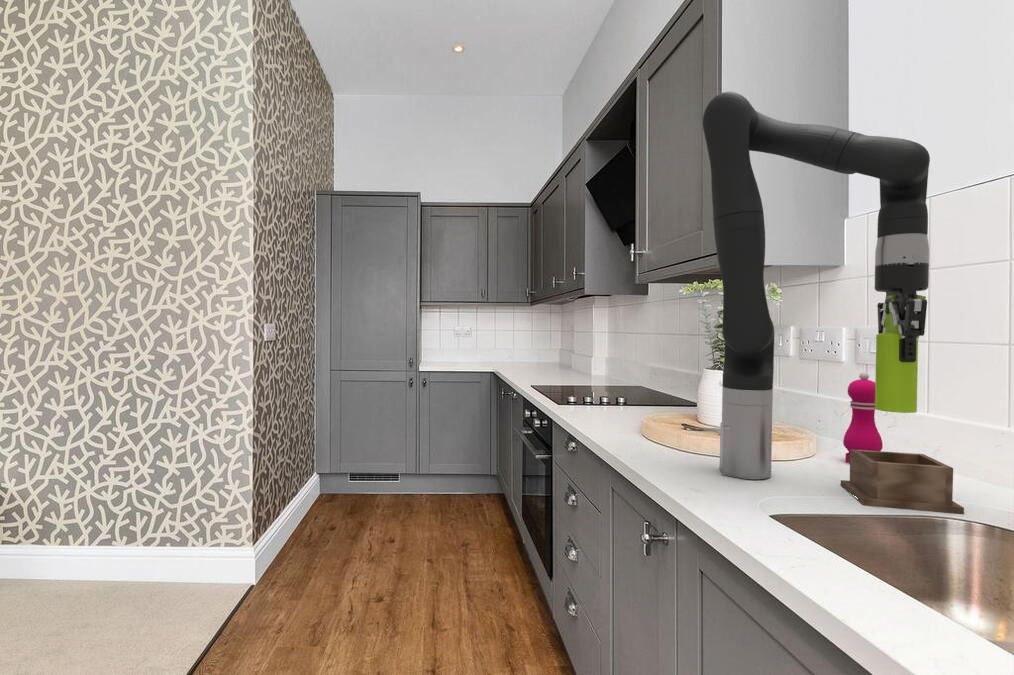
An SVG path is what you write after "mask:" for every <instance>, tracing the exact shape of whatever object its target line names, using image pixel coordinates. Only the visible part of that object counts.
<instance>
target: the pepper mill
mask: <svg viewBox="0 0 1014 675" xmlns="http://www.w3.org/2000/svg"><path fill="white" fill-rule="evenodd" d="M858 377H859V379H855V380H853V381H851V382H850V383H849V385H848V386H847V394H848V395H847V396H848V397H849V398H850V399H851V401H849V403H850V405H849V407H850V408H851V409H852V410H851V412H852V415H851V421H850V424H849V426H848V428H847V430H846V431H845V434H844V436H843V441H842V442H843V446H844V448H845V449H846V450H847V452H846V453H845V459H844V460H845V462H846V463H847V464H849V465H850V449H853V450H868V451H883V447H884V446H883V440H882V437H881V434H880V432H879V431H878V427H877V426H876V420H875V415H876V414H875V412H876V409H875V381H873V380H871V379H869V378H870V374H868V372H865V371H864V372H863V371H862V372H860V374H859V376H858Z"/></svg>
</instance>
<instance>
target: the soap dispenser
mask: <svg viewBox="0 0 1014 675" xmlns="http://www.w3.org/2000/svg"><path fill="white" fill-rule="evenodd" d="M917 298H918V299H927V296H924V295H920V294H917ZM885 299H892V302H894V299H895V295H890V296H886V295H885ZM885 332H886V333H880V334H879V333H877V334H876V338H875V381H874V382H875V411H876V410H877V411H881V412H889V413H903V414H911V413H912V414H913V413H914V414H915V413H917V412H918V409H917V408H918V372H919V371H918V369H919V368H918V365H919V363H918V362H919V360H918V359H919V339H916V361H915V362H900V361H899V340H903V339H900V337H899V332H898V328H896V327H895V326H894V323H893V317H892V313H891V312H889V314H886V315H885Z"/></svg>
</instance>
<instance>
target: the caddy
mask: <svg viewBox="0 0 1014 675" xmlns="http://www.w3.org/2000/svg"><path fill="white" fill-rule="evenodd" d="M953 486H954V467H952V466H950V465H947V464H945V463H943V462H941V461H938V460H937V459H934V458H932V457H931V456H929V455H926V454H925V453H915V452H914V453H913V452H911V453H910V452H899V451H898V452H897V451H883V450H881V451H868V450H853V449H850V464H849V480H846V479H845V480H843V479H841V480H840V487H842V488H843V489H844V488H845V489H846V490H847V491H846V490H845V489H844V490H845V491H846V492H848V493H849V492H850V493H851V494H852V495H854V496H856V497H857V498H858V500H857V502H859V503H860V504H861V505H862V506H870V507H872V506H873V507H880V508H881V507H882V508H892V509H902V510H903V509H904V510H915V511H926V512H938V513H949V514H960V515H964V514H965V507H964V506H962V505H960V504H958V503H957V502H955V501H953V494H954V493H953V491H954V489H953V488H954V487H953ZM850 493H849V494H850ZM851 494H850V495H851ZM852 495H851V496H852Z"/></svg>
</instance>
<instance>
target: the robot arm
mask: <svg viewBox="0 0 1014 675" xmlns="http://www.w3.org/2000/svg"><path fill="white" fill-rule="evenodd" d="M702 116H703V117H702V128H703V135H704V138H705V143H706V149H707V153H708V160H709V164H710V175H711V176H710V177H711V199H712V200H711V201H712V202H711V203H712V217H713V218H712V221H713V232H714V233H713V234H714V242H715V248H716V250H715V251H716V255H717V261H718V267H719V270H720V275H721V281H722V290H723V291H722V292H723V294H722V295H723V298H722V300H723V301H722V302H723V304H722V305H723V309H722V325H721V326H722V329H721V333H722V338H723V340H724V356H723V357H724V358H723V359H724V361H723V362H724V363H723V369H722V370H723V371H722V384H721V385H722V387H721V388H722V390H721V391H722V392H721V393H722V396H721V397H722V398H721V422H720V424H719V426H720V427H719V435H720V436H719V470H720V472H721V475H722V476H729V477H734V478H739V479H744V480H745V479H747V480H766V479H770V478H771V477H772V450H773V449H772V445H773V443H772V442H773V398H774V372H775V371H774V370H775V368H774V367H775V366H774V365H775V364H774V361H775V359H774V358H775V326H774V323H773V320H772V318H771V314H770V310H769V306H768V301H767V296H766V290H765V281H764V280H765V279H764V276H765V275H764V271H765V261H766V260H765V258H766V227H765V226H766V225H765V216H764V207H763V202H762V198H761V193H760V190H759V186H758V183H757V180H756V177H755V173H754V170H753V167H752V164H751V163H752V162H751V156H750V151H751V152H758V153H765V154H770V155H775V156H778V157H779V156H780V157H783V158H788V159H791V160H794V161H799V162H801V163H804V164H808V165H811V166H814V167H818V168H821V169H824V170H825V169H826V170H829V171H832V172H834V173H835V172H837V173H839V174H845V175H854V174H860V175H864V176H868V177H871V178H875V179H879V204H880V208H879V211H878V215H877V228H876V229H877V232H876V233H877V234H876V236H877V237H876V238H877V240H876V247H875V252H874V253H875V254H874V290H875V292H880V293H886V294H885V297H886V296H890V295H895V299H894V302H892V299H886V298H885V299H884V302H878V303H877V304H876V307H877V326H878V327H877V332H878V333H877V334H880V333H886V332H885V315H886V314H889V312H891V313H892V317H893V323H894V326H895V327H896V328H898V332H899V337H900V339H903V340H899V361H900V362H915V361H916V339H918V340H919V339H920V337H923V336H925V333H926V332H925V331H926V329H925V328H926V319H927V318H926V317H927V308H928V300H927V298H925V299H918V298H917V295H918V294H917V292H922V291H926V290H928V289H929V277H930V276H929V274H930V271H929V270H930V244H929V236H928V234H929V212H928V207H927V206H928V205H927V194H928V184H929V183H928V181H929V180H928V179H929V169H930V163H931V162H930V161H931V158H930V153H929V152H928V151H929V150H928V149H927V148H926V147H925V146H924V145H922V144H920V143H919V142H917V141H913V140H909V139H906V138H905V139H904V138H899V137H893V136H891V137H889V136H879V135H866V134H863V133H860V132H855V131H852V130H848V129H844V128H839V127H835V126H830V125H824V124H823V125H821V124H812V123H811V124H809V123H793V122H787V121H782V120H779V119H775V118H772V117H770V116H767V115H765V114H763V113H761V112H759V111H757V110H756V109H755V108H754V107H753V106H752V104H751V102H750V101H749V100H748V99H747V98H746V97H745V96H743V95H741V94H740V93H737V92H735V91H724V92H723V91H722V92H721V93H719V94H717V95H715V96H714V97H713V98H712V99H711V100H710V101H709V102H708V104H707V106H706V108H705V110H704V112H703V115H702Z"/></svg>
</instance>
